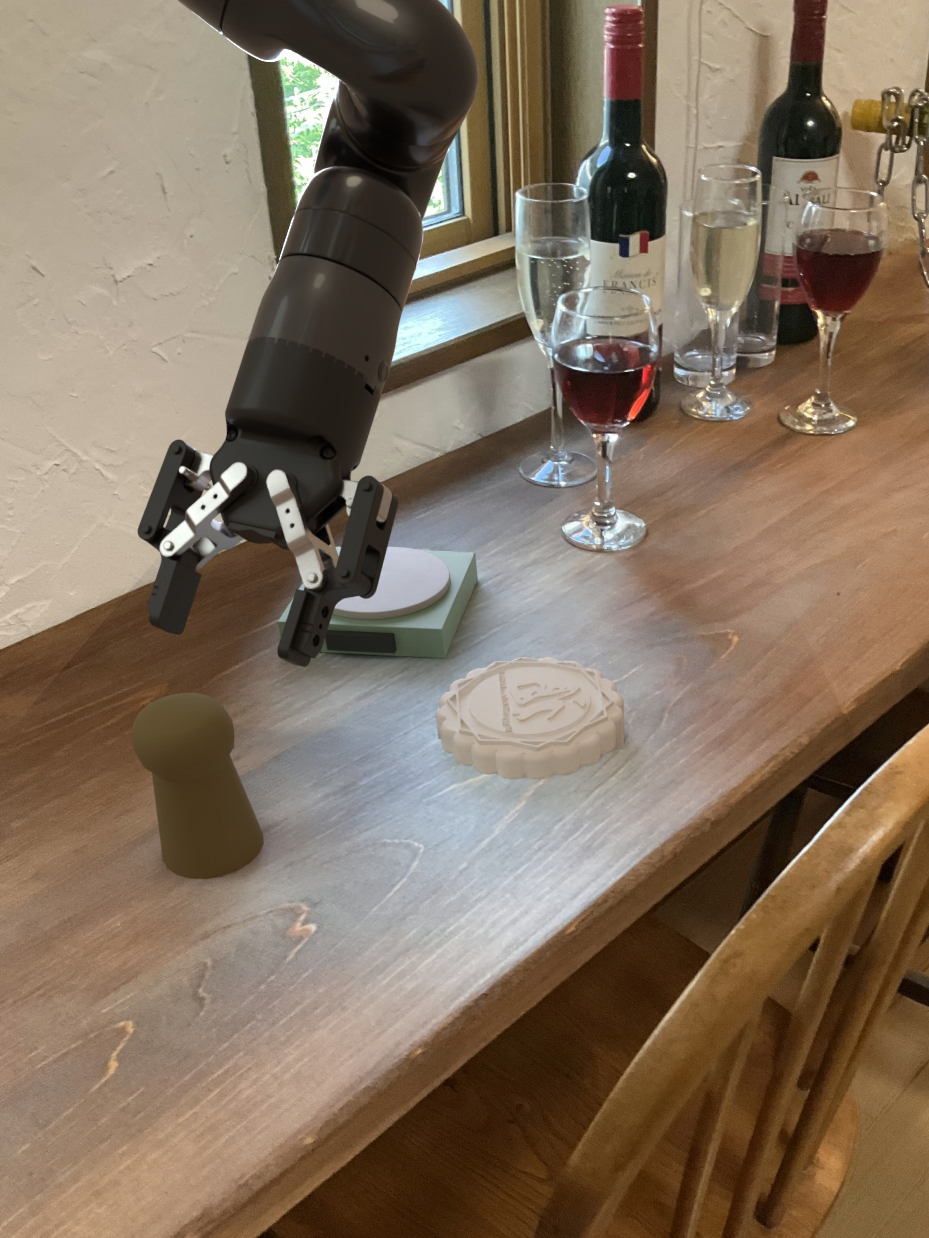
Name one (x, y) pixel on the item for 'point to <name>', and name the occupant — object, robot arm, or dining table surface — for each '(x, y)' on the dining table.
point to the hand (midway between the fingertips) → (227, 646)
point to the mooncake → (531, 718)
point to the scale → (404, 606)
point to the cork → (196, 786)
